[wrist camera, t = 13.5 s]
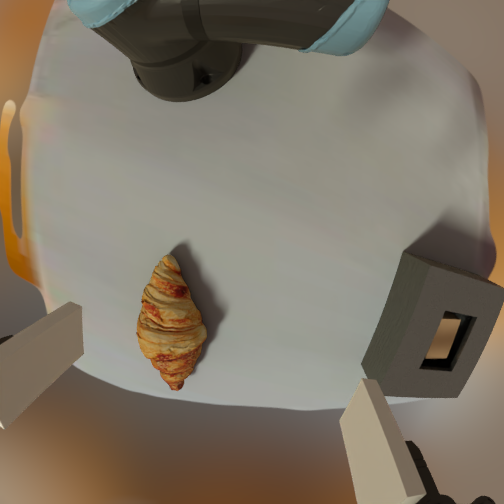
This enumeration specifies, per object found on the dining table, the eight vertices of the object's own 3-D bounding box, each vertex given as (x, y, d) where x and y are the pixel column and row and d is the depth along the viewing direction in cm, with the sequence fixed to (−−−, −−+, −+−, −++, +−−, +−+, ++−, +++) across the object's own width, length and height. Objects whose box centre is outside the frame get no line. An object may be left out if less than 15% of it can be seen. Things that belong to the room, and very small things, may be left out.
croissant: (161, 247, 42) (117, 255, 36) (213, 255, 37) (166, 266, 30) (171, 369, 46) (136, 388, 39) (217, 391, 41) (181, 417, 34)
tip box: (402, 251, 36) (430, 265, 28) (478, 275, 36) (507, 289, 28) (360, 363, 40) (375, 395, 32) (437, 372, 40) (457, 397, 32)
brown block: (421, 302, 37) (440, 318, 31) (441, 304, 37) (461, 319, 31) (409, 339, 38) (425, 358, 32) (429, 339, 38) (446, 358, 32)
